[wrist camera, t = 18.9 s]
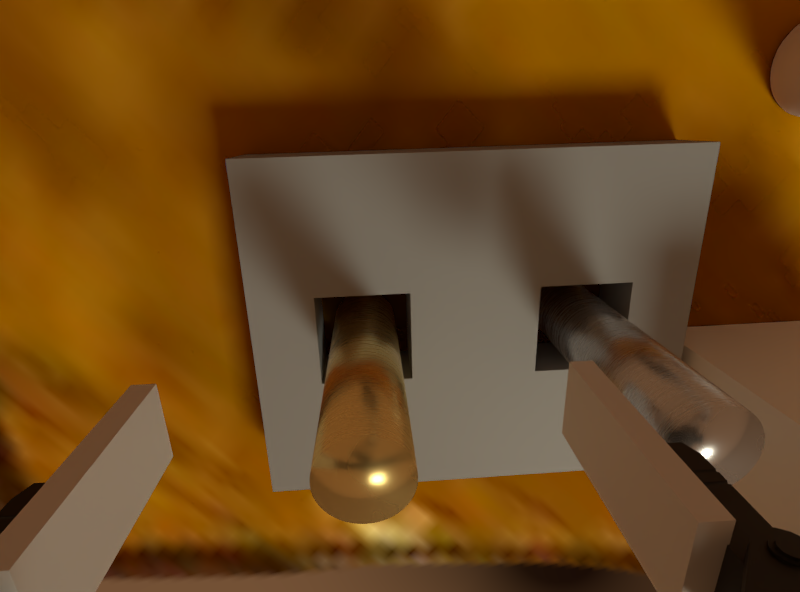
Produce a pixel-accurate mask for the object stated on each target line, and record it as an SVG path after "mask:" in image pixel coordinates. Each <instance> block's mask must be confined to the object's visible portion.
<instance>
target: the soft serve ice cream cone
mask: <svg viewBox="0 0 800 592" xmlns="http://www.w3.org/2000/svg"><path fill="white" fill-rule="evenodd" d="M770 85H771V91H772V94H773V97H774V98H775V100H776V102H777V104H778V105H779V106H780V107H781V108H782V109H783V110H784V111H786V112H788V113H790V114H792V115H795V116H799V117H800V24H799V25H797V26H796V27H795V28H794V29H793V30H792V31H791V32H790V33H789V34H788V35H787V37H786V38H785V39H784V40H783V42H782V43H781V45H780V47H779V48H778V50H777V52H776V54H775V57H774V59H773V63H772V67H771V73H770Z"/></svg>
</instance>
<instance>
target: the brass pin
mask: <svg viewBox="0 0 800 592" xmlns="http://www.w3.org/2000/svg"><path fill="white" fill-rule="evenodd" d="M309 481H310V489H311V492H312V495H313V497H314V499H315V501H316V502H317V504H318V505H319V506H320V507H321V508H322V509H323V510H324V511H325V512H327V513H328V514H329V515H331V516H333V517H335V518H337V519H339V520H342V521H345V522H350V523H358V524H367V523H375V522H379V521H382V520H385V519H388V518H390V517H392V516H394V515H395V514H397V513H399V512H400V511H401V510H402V509H404V508H405V507H406V506H407V505H408V503H409V502H410V501H411V499H412V498H413V496H414V494H415V491H416V489H417V484H418V471H417V464H416V457H415V451H414V444H413V437H412V430H411V424H410V417H409V410H408V403H407V397H406V390H405V383H404V377H403V370H402V363H401V356H400V350H399V343H398V336H397V329H396V323H395V316H394V311H393V308H392V306H391V304H390V303H389V302H388V300H387V299H386V298H384V297H383V296H382V295H366V296H347V297H346V298H345V299H343V300H342V302H341V303H340V304H339V306H338V308H337V311H336V316H335V322H334V328H333V334H332V341H331V347H330V353H329V359H328V366H327V372H326V378H325V384H324V390H323V397H322V403H321V409H320V415H319V421H318V428H317V434H316V440H315V446H314V453H313V459H312V465H311V471H310V478H309Z"/></svg>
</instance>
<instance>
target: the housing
mask: <svg viewBox="0 0 800 592" xmlns="http://www.w3.org/2000/svg"><path fill="white" fill-rule="evenodd" d="M681 360H682V361H684V362H685V363H686V364H688V365H689V366H690V367H692V368H693V369H694V370H696V371H697V372H698V373H700V374H701V375H702V376H704V377H705V378H706V379H708V380H709V381H710V382H712V383H713V384H714V385H716V386H717V387H718V388H720V389H721V390H723V391H724V392H725V393H727V394H728V395H729V396H731V397H732V398H733V399H735V400H736V401H737V402H739V403H740V404H741V405H743V406H744V407H745V408H747V409H748V410H749V411H751V412H752V413H753V414H754V415H755V416H757V418H758V419H759V420H760V422H761V424H762V426H763V429H764V434H765V443H764V448H763V451H762V454H761V456H760V458H759V460H758V461H757V463H756V464H755V466H754V467H753V468H752V469H751V470H750V471H749V472H748V474H747V475H745V476H744V477H743V478H742V479H740V480H739V481H737V482H736V483H734V484H732V486H733V487H734V488H735V489H736V490H737V491H738V492H739V493H740V494H741V495H742V496H743V497H744V498H745V499H746V500H747V501H748V502H749V503H750V505H751V506H752V507H753V508H754V509H755V510H756V511H757V512H758V513H759V514H760V515H761V516H762V517H763V518H764V519H765V520H766V521H767V522H768V523H769V524H770V525H771V526H772V527H774V528H779V529H783V530H787V531H790V532H792V533H795V534H797V535H799V536H800V321H786V322H767V323H749V324H731V325H712V326H694V327H687V330H686V336H685V341H684V347H683V353H682V358H681Z"/></svg>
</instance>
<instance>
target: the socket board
mask: <svg viewBox="0 0 800 592" xmlns="http://www.w3.org/2000/svg"><path fill="white" fill-rule="evenodd" d="M719 148H720V142H710V141H690V140H658V141H629V142H600V143H570V144H541V145H512V146H483V147H453V148H424V149H395V150H365V151H336V152H307V153H278V154H248V155H240V156H236V157H232V158H228V159H225V161H226V168H227V175H228V182H229V189H230V196H231V203H232V210H233V217H234V224H235V230H236V237H237V244H238V251H239V258H240V265H241V272H242V279H243V286H244V293H245V300H246V307H247V314H248V321H249V328H250V335H251V342H252V349H253V356H254V363H255V370H256V377H257V383H258V390H259V397H260V404H261V411H262V418H263V425H264V432H265V439H266V446H267V453H268V460H269V467H270V474H271V481H272V488H273V492H276V491H290V490H305V489H310V481H309V478H310V471H311V465H312V459H313V453H314V446H315V440H316V434H317V428H318V421H319V415H320V409H321V403H322V397H323V390H324V384H325V378H326V372H327V366H328V359H329V355H327V352H326V341H325V330H324V318H323V307H322V298H325V297H346V296H366V295H386V294H406V318H407V350H406V351H400V356H401V363H402V370H403V377H404V383H405V390H406V397H407V403H408V410H409V417H410V424H411V430H412V437H413V444H414V451H415V457H416V464H417V471H418V482H420V481H434V480H449V479H463V478H478V477H492V476H506V475H521V474H535V473H550V472H564V471H578V470H584V469H583V467H582V466H581V464H580V462H579V461H578V459H577V457H576V456H575V454H574V452H573V451H572V449H571V447H570V446H569V444H568V442H567V441H566V439H565V437H564V436H563V434H562V427H563V417H564V408H565V398H566V389H567V380H568V370H569V363H568V361H567V360H566V359H565V358H564V357H563V355H562V354H561V353H560V352H559V351H558V350H557V348H556V347H555V346H554V345H553V344H552V342H550V343H537V335H538V321H539V307H540V292H541V287H548V286H568V285H588V284H600V291H599V299H601V300H602V301H603V302H605V303H606V304H607V305H609V306H610V307H611V308H613V309H614V310H615V311H617V312H618V313H619V314H621V315H622V316H623V317H625V318H626V319H627V320H629V321H630V322H631V323H633V324H634V325H635V326H637V327H638V328H639V329H641V330H642V331H644V332H645V333H646V334H648V335H649V336H650V337H652V338H653V339H654V340H656V341H657V342H658V343H660V344H661V345H662V346H664V347H665V348H666V349H668V350H669V351H670V352H672V353H673V354H674V355H676V356H677V357H678V358H680V359H681V358H682V353H683V347H684V341H685V336H686V330H687V325H688V319H689V314H690V308H691V303H692V297H693V292H694V286H695V281H696V275H697V269H698V264H699V258H700V253H701V247H702V242H703V236H704V231H705V225H706V220H707V214H708V209H709V203H710V197H711V192H712V186H713V181H714V175H715V170H716V164H717V159H718V153H719Z"/></svg>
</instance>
